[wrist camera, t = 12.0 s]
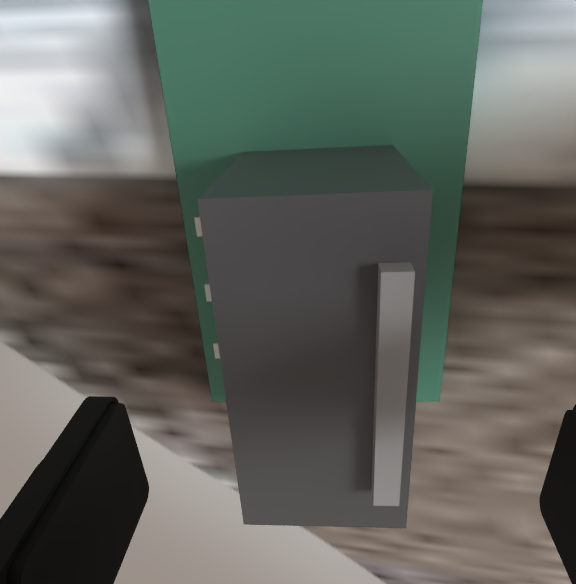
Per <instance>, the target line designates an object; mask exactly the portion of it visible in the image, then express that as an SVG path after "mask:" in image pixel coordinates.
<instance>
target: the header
mask: <svg viewBox="0 0 576 584" xmlns="http://www.w3.org/2000/svg"><path fill="white" fill-rule="evenodd" d="M148 2H149V8H150V14H151V21H152V27H153V33H154V39H155V46H156V52H157V58H158V64H159V71H160V77H161V83H162V90H163V96H164V102H165V108H166V115H167V121H168V127H169V133H170V140H171V146H172V152H173V158H174V165H175V171H176V177H177V184H178V190H179V196H180V202H181V209H182V215H183V221H184V227H185V234H186V240H187V246H188V252H189V259H190V265H191V271H192V277H193V284H194V290H195V296H196V303H197V309H198V315H199V321H200V328H201V334H202V340H203V346H204V353H205V359H206V365H207V371H208V378H209V384H210V390H211V397H212V401H226V396H225V389H224V382H223V375H222V368H221V361H220V354H219V347H218V340H217V333H216V326H215V319H214V312H213V305H212V298H211V291H210V284H209V277H208V271H207V264H206V257H205V250H204V243H203V236H202V229H201V222H200V215H199V208H198V201H197V199H198V198H199V197H200V196H201V195H202V194H203V193H204V192H205V191H206V190H207V188H208V187H209V186H210V185H211V184H212V183H213V182H214V181H215V180H216V179H217V178H218V177H219V176H220V175H221V174H222V173H223V172H224V171H225V170H226V169H227V168H228V167H229V166H230V165H231V164H232V163H233V162H234V160H235V159H236V158H237V157H238V156H239V155H240V154H241V153H242V152H253V151H274V150H295V149H316V148H337V147H358V146H379V145H393V146H394V147H395V148H396V149H397V150H398V151H399V153H400V154H401V155H402V156H403V157H404V158H405V159H406V160H407V161H408V163H409V164H410V165H411V166H412V167H413V168H414V169H415V170H416V172H417V173H418V174H419V175H420V176H421V177H422V178H423V179H424V181H425V182H426V183H427V184H428V185H429V186H430V187H431V188H432V189H433V195H432V207H431V220H430V232H429V245H428V258H427V270H426V283H425V295H424V308H423V320H422V333H421V346H420V358H419V371H418V383H417V396H416V401H440V394H441V385H442V375H443V366H444V357H445V347H446V338H447V329H448V320H449V310H450V301H451V292H452V283H453V273H454V264H455V255H456V245H457V236H458V227H459V218H460V208H461V199H462V190H463V180H464V171H465V162H466V153H467V143H468V134H469V125H470V116H471V106H472V97H473V88H474V78H475V69H476V60H477V51H478V41H479V32H480V23H481V13H482V4H483V0H148Z"/></svg>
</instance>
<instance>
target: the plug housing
mask: <svg viewBox="0 0 576 584" xmlns="http://www.w3.org/2000/svg"><path fill="white" fill-rule="evenodd" d="M432 195H433V189H432V188H431V187H430V186H429V185H428V184H427V183H426V182H425V181H424V179H423V178H422V177H421V176H420V175H419V174H418V173H417V172H416V170H415V169H414V168H413V167H412V166H411V165H410V164H409V163H408V161H407V160H406V159H405V158H404V157H403V156H402V155H401V154H400V153H399V151H398V150H397V149H396V148H395V147H394V146H393V145H379V146H358V147H337V148H316V149H295V150H274V151H253V152H242V153H241V154H240V155H239V156H238V157H237V158H236V159H235V160H234V162H233V163H232V164H231V165H230V166H229V167H228V168H227V169H226V170H225V171H224V172H223V173H222V174H221V175H220V176H219V177H218V178H217V179H216V180H215V181H214V182H213V183H212V184H211V185H210V186H209V187H208V188H207V190H206V191H205V192H204V193H203V194H202V195H201V196H200V197H199V198H198V199H197V201H198V208H199V215H200V222H201V229H202V236H203V243H204V250H205V257H206V264H207V271H208V277H209V284H210V291H211V298H212V305H213V312H214V319H215V326H216V333H217V340H218V347H219V354H220V361H221V368H222V375H223V382H224V389H225V396H226V403H227V410H228V417H229V424H230V431H231V438H232V445H233V452H234V459H235V466H236V473H237V480H238V487H239V493H240V500H241V507H242V514H243V521H244V524H251V525H293V526H334V527H376V528H406V521H407V509H408V496H409V484H410V471H411V459H412V446H413V433H414V421H415V408H416V396H417V383H418V371H419V358H420V346H421V333H422V320H423V308H424V295H425V283H426V270H427V258H428V245H429V232H430V220H431V207H432Z"/></svg>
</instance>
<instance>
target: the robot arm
mask: <svg viewBox="0 0 576 584" xmlns="http://www.w3.org/2000/svg"><path fill="white" fill-rule="evenodd" d="M148 493H149V485H148V481H147V477H146V474H145V471H144V468H143V464H142V460H141V457H140V454H139V451H138V447H137V444H136V441H135V437H134V434H133V431H132V427H131V424H130V421H129V417H128V414H127V411H126V408H125V405H124V404H121V403H119V402H118V400H117V399H116V398H115V397H91V396H90V397H87V398H86V399H85V400H84V401H83V403H82V404H81V405H80V407H79V409H78V410H77V411H76V413H75V414H74V416H73V417H72V419H71V420H70V421H69V423H68V424H67V426H66V427H65V429H64V430H63V432H62V433H61V434H60V436H59V437H58V439H57V440H56V442H55V443H54V445H53V446H52V448H51V449H50V450H49V452H48V453H47V455H46V456H45V458H44V459H43V460H42V461H41V462H40V464H39V465H38V466H37V467H36V468H35V470H34V471H33V473H32V474H31V476H30V477H29V479H28V480H27V482H26V483H25V484H24V486H23V487H22V489H21V490H20V492H19V493H18V494H17V496H16V497H15V499H14V500H13V502H12V503H11V505H10V506H9V508H8V509H7V510H6V512H5V514H4V515H3V516H2V518H1V519H0V584H113V583H114V581H115V578H116V576H117V573H118V571H119V569H120V566H121V563H122V561H123V559H124V556H125V554H126V551H127V549H128V546H129V544H130V541H131V539H132V536H133V534H134V531H135V529H136V526H137V524H138V521H139V519H140V516H141V514H142V511H143V509H144V507H145V504H146V502H147V498H148ZM540 509H541V513H542V516H543V518H544V521H545V523H546V525H547V527H548V530H549V532H550V534H551V537H552V539H553V541H554V543H555V546H556V548H557V550H558V553H559V555H560V557H561V559H562V562H563V564H564V566H565V569H566V571H567V573H568V575H569V578H570V580H571V582H572V584H576V405H575V406H574V408H573V410H567V411H566V413H565V415H564V418H563V421H562V425H561V428H560V431H559V435H558V438H557V441H556V445H555V448H554V451H553V455H552V458H551V461H550V465H549V468H548V471H547V475H546V478H545V481H544V485H543V488H542V491H541V495H540Z"/></svg>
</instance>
